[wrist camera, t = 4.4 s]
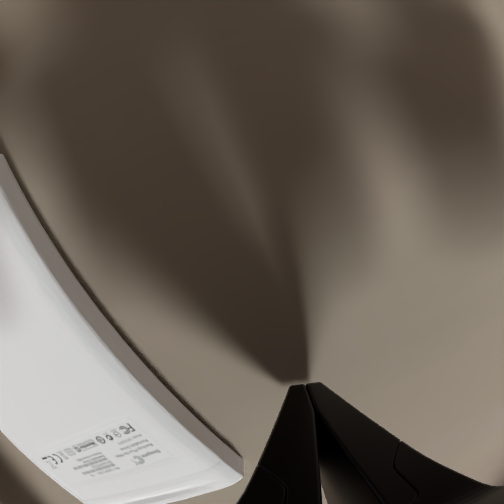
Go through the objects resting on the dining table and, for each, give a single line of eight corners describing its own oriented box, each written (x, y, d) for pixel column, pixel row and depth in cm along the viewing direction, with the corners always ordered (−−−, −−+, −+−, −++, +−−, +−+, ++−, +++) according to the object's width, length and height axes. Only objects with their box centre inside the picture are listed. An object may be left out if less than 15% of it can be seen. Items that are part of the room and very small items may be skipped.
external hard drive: (13, 152, 7) (245, 450, 10) (-71, 286, 8) (104, 493, 11) (-21, 152, 6) (245, 484, 8) (-94, 298, 7) (95, 517, 9)
